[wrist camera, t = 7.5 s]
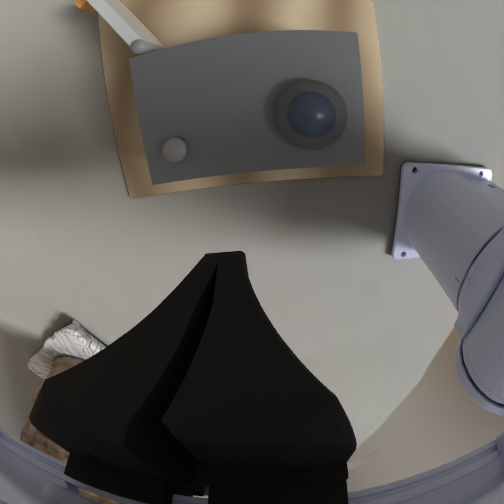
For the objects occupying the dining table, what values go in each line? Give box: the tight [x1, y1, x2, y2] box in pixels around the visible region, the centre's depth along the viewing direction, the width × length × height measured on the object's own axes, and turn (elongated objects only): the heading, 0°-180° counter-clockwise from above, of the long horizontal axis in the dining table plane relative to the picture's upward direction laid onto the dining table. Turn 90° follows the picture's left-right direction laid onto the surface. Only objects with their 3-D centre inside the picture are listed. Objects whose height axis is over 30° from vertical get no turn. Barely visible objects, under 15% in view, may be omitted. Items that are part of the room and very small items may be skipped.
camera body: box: [129, 30, 365, 185], centre depth 13 cm, size 11×7×5 cm, turn 96°
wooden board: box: [98, 0, 384, 199], centre depth 14 cm, size 18×16×1 cm
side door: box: [75, 0, 165, 55], centre depth 11 cm, size 7×2×4 cm, turn 36°
